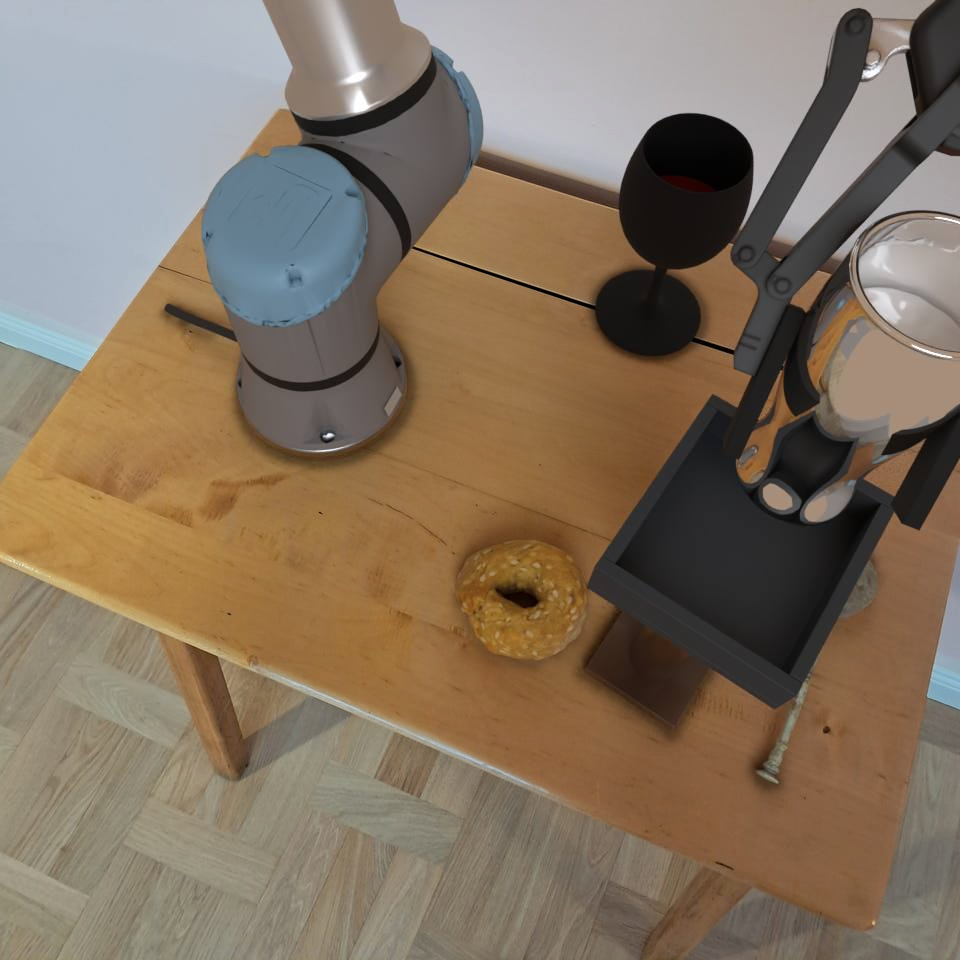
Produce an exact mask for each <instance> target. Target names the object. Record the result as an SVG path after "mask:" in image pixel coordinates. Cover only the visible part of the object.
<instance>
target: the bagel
mask: <svg viewBox="0 0 960 960" xmlns="http://www.w3.org/2000/svg"><path fill="white" fill-rule="evenodd" d="M454 591H455V597H456V599H457V600H458V602H459V604H460V610H461V612H462V613H466V614H467V615H468V616H467V619H468V622H469V624H470V626H471V628H472V629H473V632H474V635H475V637H476V638H477V639H478V640H479V641H480V643H481V644H483V646H484V648H486V649H487V650H488V651H489V652H490V653H492V654H494V655H497V656H503V657H508V658H510V659H517V660H534V661H541V660H544V659H547V658H549V657H551V656H554V655H556V654H558V653H559V652H561V651H563V650H565V649H566V647H567V646H568V645H569V643H571V642H573V641H574V640H576V639H577V637H578V636H579V635H580V633H581V631H582V627H584V624H585V622H586V620H587V619H588V618H587V617H588V614H589V607H590V603H589V602H590V593H589V589H588V588H587V583H586V580H585V578H584V575H583V572H582V571H581V569H580V567H579V565H578V564H577V562H576V561H575V559H574V558H573V557H572V556H571V555H568V554H567V553H566V552H564V551H563V550H562V549H560V548H557V547H556V546H554V545H552V544H549V543H546V542H544V541H542V540H536V539H529V540H528V539H527V540H518V539H514V540H508V541H505V542H503V543H500V544H495V545H491V546H488V547H486V548H483V549H482V550H481V549H480V550H478V551H477V552H475V553H473V554H471V555H469V556H468V557H467V558H466V559H465V561H464V564H463V566H462V568H461V570H460V571H459V573H458V575H457V577H456V582H455V584H454ZM521 592H523V593H524V594H529V595H531V596H532V597H533V598H534V599H535V600H536V601H537V603H536V604H535V606H529V607H523V606H521V605H520V604H518V603H515V602H514V601H512V600H510V599H507V598H505V597H504V596H507V595H513V594H515V593H521Z"/></svg>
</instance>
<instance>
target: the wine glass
mask: <svg viewBox="0 0 960 960" xmlns="http://www.w3.org/2000/svg"><path fill="white" fill-rule="evenodd" d="M754 159H755V157H754V151H753V148H752V146H751V143H750V142H749V140H748V139H747V137H746V136H745V135H744V134H743V133H742V131H740V129H738V128H737V127H735V126H734V125H733V124H731V123H730V122H728V121H726V120H724V119H722V118H719V117H717V116H714V115H710V114H706V113H697V112H681V113H675V114H671V115H669V116H665V117H663V118H660V119H659V120H657V121H656V122H655V123H653V124H652V125H651V126H650V127H649V128H648V129H647V130H646V132H645V133H644V134H643V136H642V137H641V139H640V141H639V142H638V144H637V146H636V148H635V149H634V151H633V153H632V155H631V156H630V159H629V161H628V163H627V165H626V168H625V170H624V174H623V177H622V179H621V183H620V188H619V193H618V194H619V196H618V216H619V222H620V226H621V230H622V232H623V235H624V236H625V239H626V241H627V243H628V244H629V245H630V247H631V248H632V250H633V251H634V252H635V253H636V254H637V256H639V257H640V258H642V259H643V260H645V262H647V263H649V264H651V265H653V266H655V267H654V270H653V269H633V270H628V271H625V272H624V271H623V272H621V273H619V274H617V275H615V276H613V277H612V278H610V279H609V280H608V281H606V283H605V284H603V286H602V288H600V290H599V292H598V294H597V297H596V299H595V300H596V301H595V306H594V312H595V314H594V315H595V318H596V323H597V324H598V327H599V330H600V331H601V332H602V333H603V335H604V336H605V337H606V338H607V339H608V340H609V341H610V342H612V343H613V344H614V345H615V346H616V347H618V348H620V349H621V350H624V351H626V352H628V353H631V354H635V355H638V356H643V357H662V356H667V355H672V354H674V353H677V352H679V351H681V350H683V349H684V348H685V347H687V346H688V345H689V344H690V343H691V342H692V341H693V340H694V339H695V337H696V335H697V333H698V332H699V329H700V325H701V322H702V313H701V307H700V303H699V302H698V299H697V298H696V296H695V294H694V292H693V291H692V290H691V289H690V288H689V287H688V286H687V285H686V284H684V282H682V281H681V280H679V279H678V278H676V277H674V276H672V275H671V274H668V270H672V271H673V270H674V271H675V270H676V271H679V270H687V269H692V268H696V267H698V266H700V265H703V264H706V263H707V262H709V261H711V260H712V259H714V258H715V257H717V256H718V255H719V254H720V253H721V252H723V251H724V250H725V249H726V248H727V247H728V246H729V245H730V244H731V242H732V241H733V239H734V238H735V236H737V234H738V232H739V230H740V228H741V227H742V224H743V223H744V221H745V218H746V215H747V213H748V209H749V206H750V202H751V198H752V193H753V186H754V172H755V170H754V169H755V168H754V167H755V164H754V163H755V161H754Z"/></svg>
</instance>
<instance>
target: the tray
mask: <svg viewBox="0 0 960 960" xmlns="http://www.w3.org/2000/svg"><path fill="white" fill-rule="evenodd" d="M737 407H738V406H735V405H734V404H732V403H730V402H728V401H727V400H725V399H723V398H721V397H719V396H718V395H716V394H714V393H712V394H711V395H710V397H709V398H708V399H707V401H706V402H705V404H704V405H703V407H702V408H701V410H700V411H699V412H698V413H697V416H696V417H695V419H694V420H693V422H692V423H691V424H690V426H689V428H688V429H687V430H686V432H685V433H684V434H683V436H682V437H681V439H680V440H679V442H678V444H677V445H676V447H675V448H674V449H673V451H672V452H671V453H670V455H669V456H668V458H667V460H666V461H665V462H664V463H663V466H662V467H661V468H660V470H659V471H658V472H657V474H656V476H655V477H654V479H652V482H651V483H650V484H649V486H648V487H647V489H646V490H645V491H644V493H643V495H642V496H641V497H640V499H639V500H638V502H637V503H636V505H635V506H634V508H633V509H632V511H631V512H630V513H629V515H628V517H627V518H626V520H625V521H624V523H623V524H622V525H621V527H620V528H619V530H618V531H617V532H616V534H615V535H614V537H613V538H612V540H611V542H610V543H609V545H608V546H607V547H606V549H605V551H604V552H603V553H602V555H601V556H600V558H599V559H598V561H596V563H595V564H594V567H593V569H592V572H591V574H590V577H589V579H588V582H587V583H586V585H587V589H588V591H591V592H592V593H594V594H596V595H598V596H599V597H600V598H602V599H603V600H605V601H606V602H608V603H610V604H611V605H612V606H614V607H615V608H617V609H619V610H620V611H621V612H622V611H623V612H625V613H626V614H628V615H629V616H631V617H633V618H634V619H636V620H637V621H639V622H640V623H642V624H643V625H645V626H646V627H648V628H649V629H651V630H653V631H654V632H656V633H657V634H659V635H660V636H662V637H663V638H665V639H666V640H668V641H669V642H671V643H673V644H674V645H676V646H677V647H679V648H680V649H682V650H683V651H685V652H686V653H688V654H690V655H691V656H693V657H694V658H696V659H697V660H699V661H700V662H702V663H703V664H705V665H706V666H708V667H710V668H709V669H711V670H712V671H714V672H716V673H717V674H719V675H721V676H722V677H723V678H725V679H726V680H728V681H730V682H731V683H733V685H736V686H737V687H739V688H740V689H742V690H743V691H745V692H746V693H748V694H750V696H753V697H754V698H755V699H758V700H759V701H760V702H762V703H763V704H765V705H767V706H768V707H769V708H771V709H772V710H777V709H778V708H780V707H782V706H784V705H785V704H786V703H788V702H790V701H791V700H793V699H794V697H796V696H797V695H798V693H799V691H800V689H801V687H802V685H803V683H804V681H805V680H806V678H807V676H808V674H809V672H810V670H811V668H812V666H813V664H814V663H815V661H816V659H817V657H818V655H819V656H820V654H821V651H822V649H823V647H824V646H825V644H826V643H827V640H828V638H829V636H830V634H831V633H832V631H833V628H834V627H835V625H836V623H837V621H838V619H839V618H838V617H839V615H840V614H841V612H842V610H843V608H844V606H845V604H846V602H847V600H848V598H849V597H850V595H851V593H852V591H853V589H854V587H855V585H856V583H857V582H858V580H859V578H860V576H861V574H862V572H863V570H864V568H865V566H866V565H867V563H868V561H869V560H870V559H871V558H872V555H873V553H874V552H875V549H876V547H877V545H878V544H879V542H880V540H881V538H882V536H883V535H884V532H885V531H886V529H887V527H888V525H889V523H890V521H891V519H892V517H893V515H894V514H895V511H894V510H893V508H892V506H891V502H892V501H893V499H894V497H895V495H893V494H891V493H889V492H888V491H886V490H884V489H882V488H880V487H879V486H877V485H875V484H874V483H872V482H870V481H868V480H867V479H865V478H864V479H863V481H862V482H861V484H860V486H859V489H858V491H857V493H856V495H855V497H854V498H853V500H852V502H851V503H850V505H849V506H848V507H847V509H846V510H845V511H844V512H843V513H842V514H841V515H839V516H838V517H836V518H835V519H833V520H831V521H829V522H827V523H824V524H821V525H817V526H809V527H800V526H792V525H788V524H784V523H781V522H778V521H776V520H774V519H772V518H770V517H768V516H766V515H765V514H763V513H762V512H760V511H759V510H758V509H757V508H756V507H754V506H753V505H752V504H751V503H750V501H749V500H748V499H747V498H746V496H745V495H744V494H743V492H742V490H741V488H740V486H739V484H738V482H737V479H736V475H735V469H734V459H735V458H733V457H731V456H728V455H725V454H723V453H722V451H723V438H724V436H725V434H726V432H727V429H728V427H729V425H730V423H731V421H732V418H733V416H734V414H735V412H736V410H737ZM759 420H760V419H758V421H759ZM758 421H757V422H758ZM819 653H820V654H819ZM818 658H819V657H818Z"/></svg>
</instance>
